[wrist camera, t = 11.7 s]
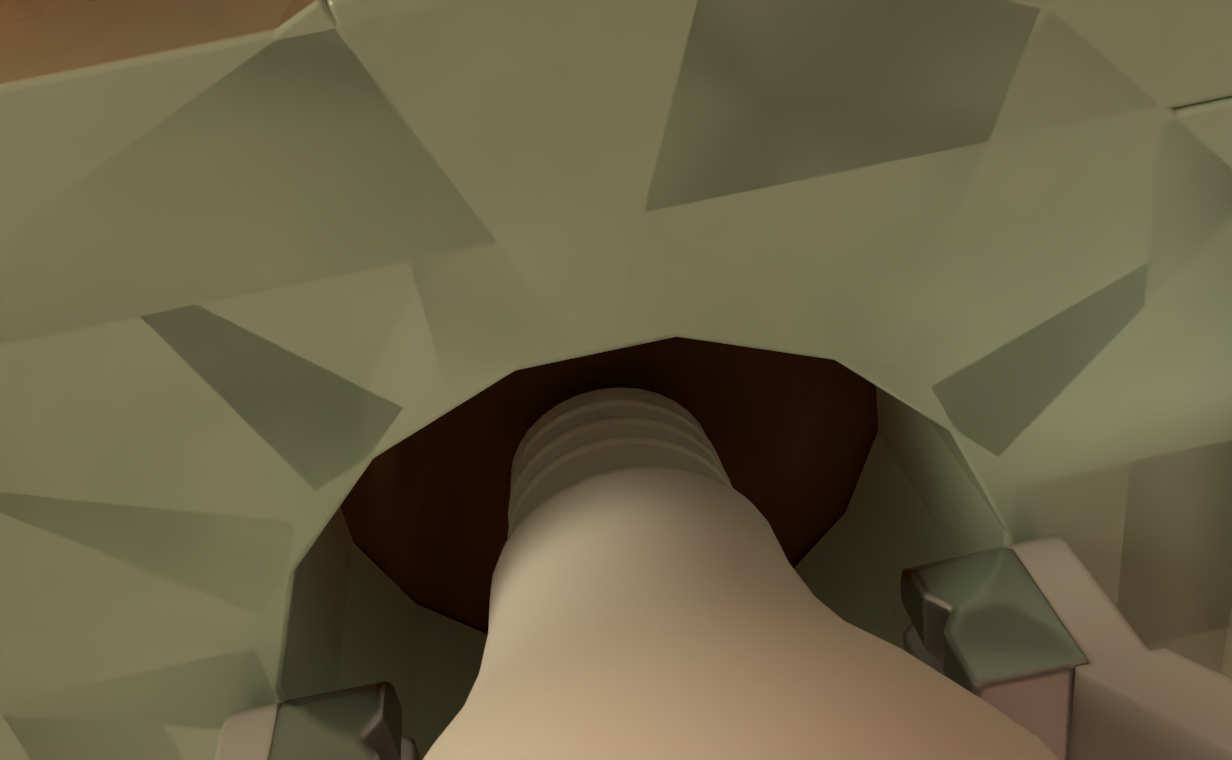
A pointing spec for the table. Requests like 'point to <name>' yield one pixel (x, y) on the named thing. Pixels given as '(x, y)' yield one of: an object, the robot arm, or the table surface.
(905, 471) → the square stone ashtray
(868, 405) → the table surface
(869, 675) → the lightbulb
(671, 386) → the table surface
